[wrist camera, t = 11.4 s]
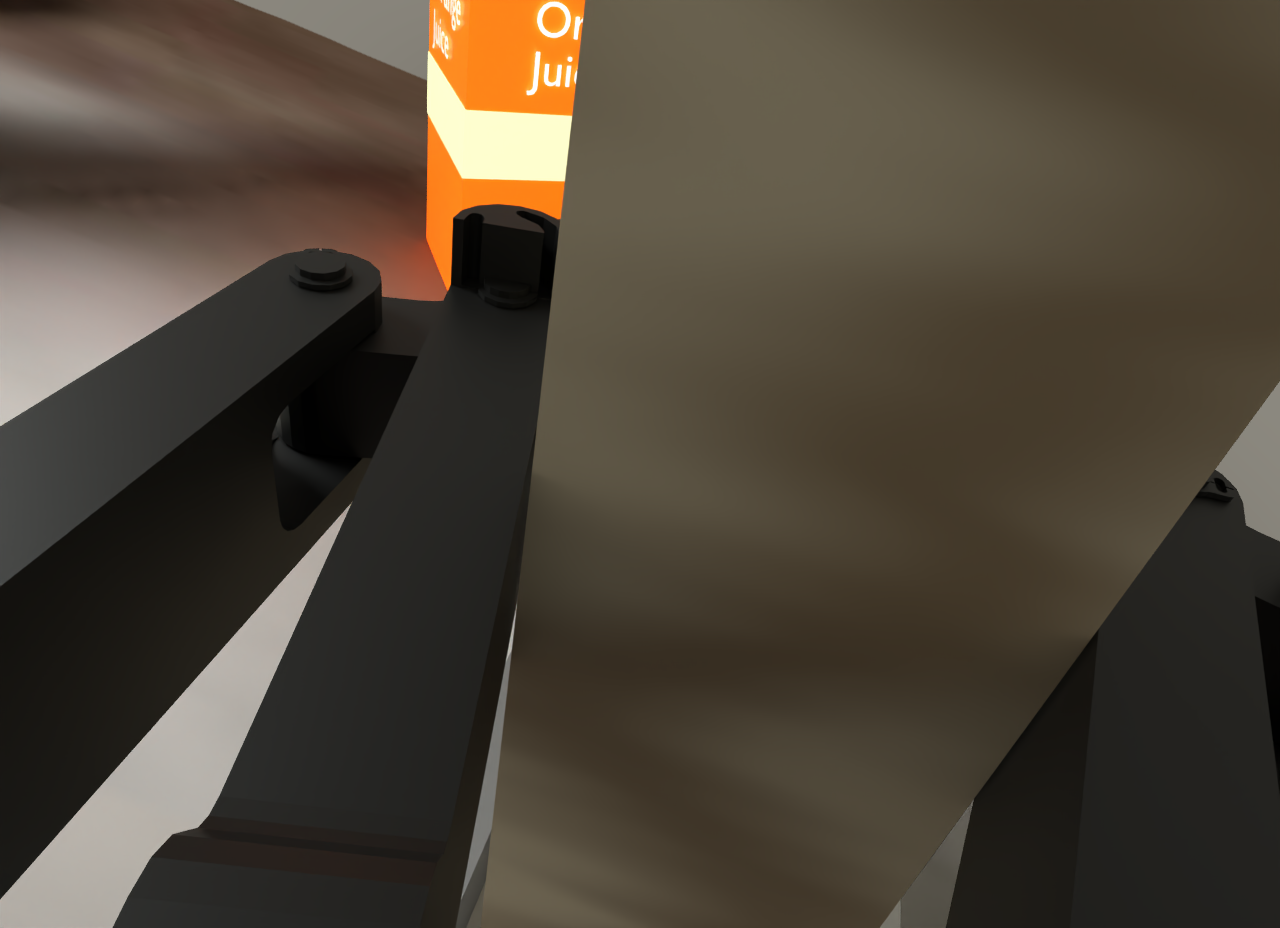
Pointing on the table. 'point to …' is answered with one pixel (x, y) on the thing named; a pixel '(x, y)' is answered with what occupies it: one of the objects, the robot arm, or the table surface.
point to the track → (480, 845)
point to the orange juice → (498, 108)
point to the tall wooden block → (860, 424)
